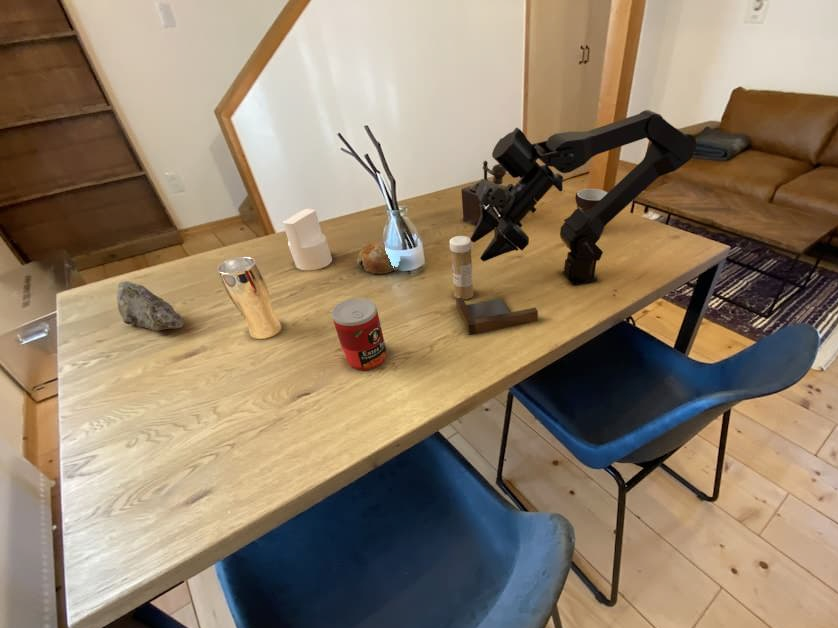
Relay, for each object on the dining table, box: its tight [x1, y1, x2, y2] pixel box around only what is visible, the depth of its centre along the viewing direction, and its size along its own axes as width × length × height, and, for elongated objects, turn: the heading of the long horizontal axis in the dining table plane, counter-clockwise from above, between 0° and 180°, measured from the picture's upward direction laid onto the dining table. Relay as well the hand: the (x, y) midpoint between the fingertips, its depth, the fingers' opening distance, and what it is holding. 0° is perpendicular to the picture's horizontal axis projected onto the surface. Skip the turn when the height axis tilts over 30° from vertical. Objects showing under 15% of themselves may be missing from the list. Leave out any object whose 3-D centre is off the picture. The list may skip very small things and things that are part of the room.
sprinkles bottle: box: [449, 235, 475, 301], centre depth 95 cm, size 5×5×14 cm
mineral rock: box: [116, 280, 184, 332], centre depth 88 cm, size 13×11×10 cm
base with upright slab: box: [282, 208, 333, 271], centre depth 108 cm, size 9×9×12 cm
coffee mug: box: [575, 188, 608, 212], centre depth 123 cm, size 12×9×10 cm
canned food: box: [331, 297, 387, 371], centre depth 80 cm, size 8×8×11 cm
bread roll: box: [356, 240, 399, 275], centre depth 109 cm, size 10×10×8 cm
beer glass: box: [216, 256, 282, 340], centre depth 85 cm, size 7×7×15 cm
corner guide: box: [455, 297, 539, 336], centre depth 93 cm, size 15×10×2 cm
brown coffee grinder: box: [460, 160, 508, 227], centre depth 124 cm, size 16×11×18 cm
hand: (476, 250), depth 93 cm, fingers open, 9 cm apart
